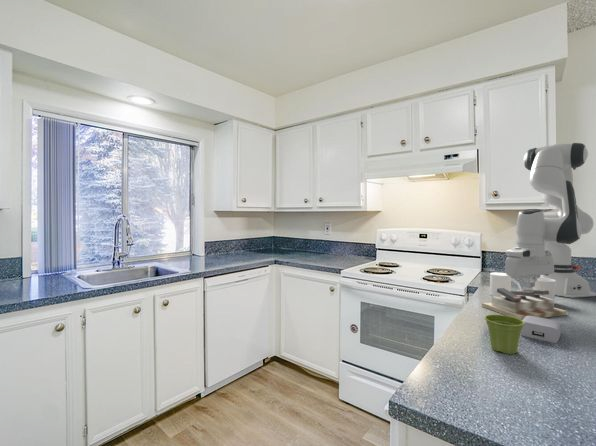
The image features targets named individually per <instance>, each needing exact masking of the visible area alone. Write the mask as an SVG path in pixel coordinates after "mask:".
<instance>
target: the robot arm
mask: <svg viewBox="0 0 596 446" xmlns="http://www.w3.org/2000/svg"><path fill="white" fill-rule="evenodd" d="M588 155H589V152H588V149H587V147H586V145H585V144H584V143H580V142H572V143H560V144H553V145H546V146H542V147H533V148H530V149H528V150H527V151H526V152H525V153H524V156H523V166H524V167H525V169H526V170H528V171H530V173H529V185H530V186H531V187H532V189H534V190H535V191H537V192H538V193H541V199H542V201H543V202H544V203H546V204H548V205H551V206H553V207H555V208H557V209H558V211H554V212H553V211H549V212H548V211H546V212H545V211H543V209H537V208H529V209H521V210H520V211H519V212H518V214H517V219H516V230H515V231H516V234H517V240H516V242H515V243H516V245H514V246H513V247H511V248H508V249H507V250H505V255H506V256H507V257H506V258H505V262H504V264H505V265H504V271H505V272H504V273H506V274H507V275H508V276H511V277H512V278H517V277H522V280H523V282H524V287H525V288H533V287H535V282H536V280H537V279H538V278H548V279H553V280H556V288H555V296H560V297H566V298H586V297H596V292H595V291H591V287H590V282H589V281H588V280H587V279H586V278H584V277H582V276H581V275H580V274H578V273H576V271H580V270H581V266H580V265H573V264H572V249H571V247H570V246H569V245H571V244H573V243H575V242H577V241H578V240H580V239H581V236H582V235H587V234H589V233H590V232H591V231H592V229H594V225H595V224H594V223H595V222H594V219H593V218H592V216H591V215H589V213H587V212H585V211H583V209H581V208H580V207H579V206H578V205H577V200H576V195H575V194H576V193H575V189H574V185H573V183H574V181H573V180H574V178H573V177H574V176H573V175H574V174H573V171H575V170H576V169H577V168H579V167H582V166H583V165H584V164H585V163H586V161H587V159H588Z"/></svg>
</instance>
